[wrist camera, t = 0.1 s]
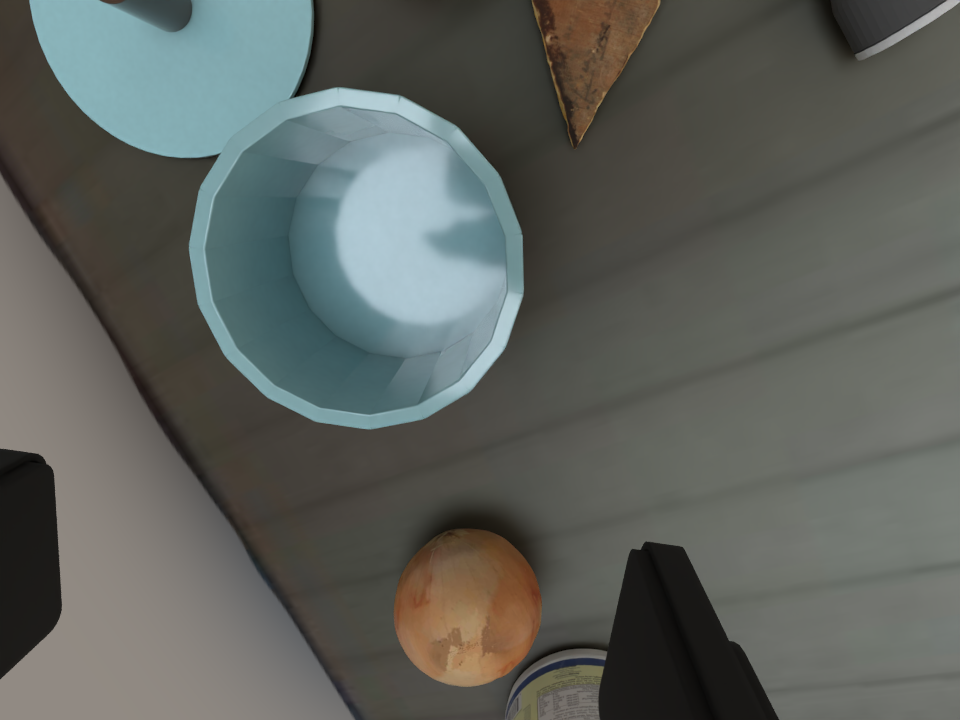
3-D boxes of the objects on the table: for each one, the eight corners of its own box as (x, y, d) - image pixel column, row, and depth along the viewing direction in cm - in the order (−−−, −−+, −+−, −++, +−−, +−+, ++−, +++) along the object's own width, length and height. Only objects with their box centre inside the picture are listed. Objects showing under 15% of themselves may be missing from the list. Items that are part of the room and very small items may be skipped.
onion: (450, 639, 47) (434, 753, 37) (381, 537, 45) (346, 630, 35) (562, 587, 45) (575, 693, 36) (496, 480, 43) (491, 561, 34)
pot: (400, 62, 36) (351, 3, 25) (571, 259, 39) (595, 284, 28) (231, 240, 40) (121, 256, 29) (399, 411, 42) (358, 488, 31)
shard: (572, 151, 37) (575, 149, 36) (465, 84, 37) (462, 78, 35) (676, -23, 35) (684, -35, 33) (562, -99, 34) (564, -115, 32)
